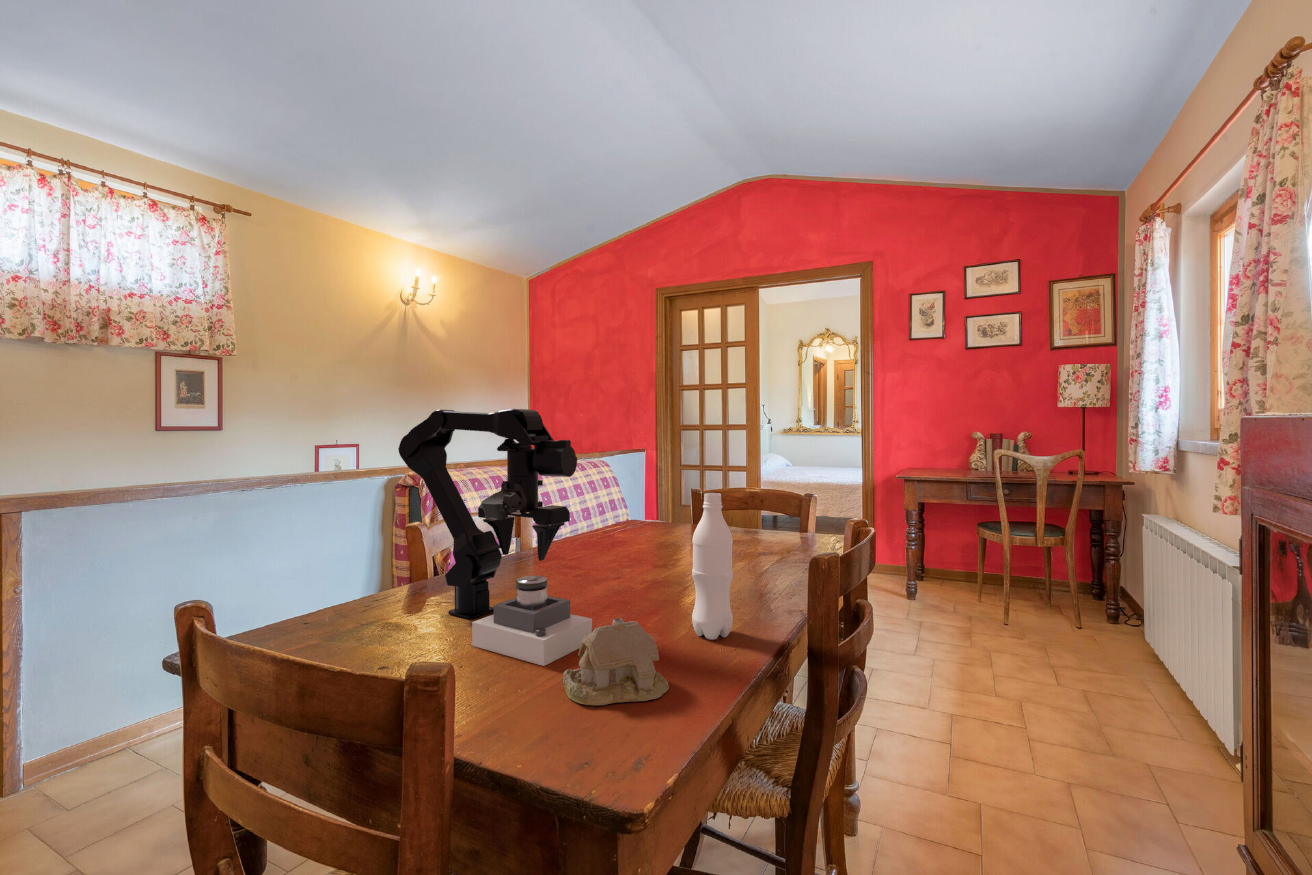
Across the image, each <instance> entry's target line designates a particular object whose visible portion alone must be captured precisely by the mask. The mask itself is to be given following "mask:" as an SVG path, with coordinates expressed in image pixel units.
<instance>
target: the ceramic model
mask: <svg viewBox="0 0 1312 875" xmlns="http://www.w3.org/2000/svg"><path fill="white" fill-rule="evenodd" d="M577 655H578V657H579V658H580V659H579V662H578V666H579V667H580V668H577V669H574V670H573V669H572V668H568V669H566V670H564V672H563V678H562V682H563V685H564V691H565V693H566V696H567V697H568V698H569V699H570V700H571V701H573V702H575V703H577V704H582V705H586V706H605V705H609V704H614V703H625V702H626V703H629V702H645V701H651V700H656V699H659V698H660V697H662V696H663V695H664V694H665V693H666V692H667V691H669V689H670V685H669V683H668V680H667V679H666V678H665V677H664V676H663V675H662V674H661V673H660V672H658V671H656V667H655V664H654V663H655V662H658V661H659V660H660V655H659V651H658V646H657V643H656V640H655V638H653V636H652V635H650V634H649V633H647V631H646V630H645V629H644V628H643V627H642V626H641V625H640V623H639V622H638V621H637V620H632V621H626V622H625V621H624V620H623V618H620V617H616V618H613V621H612V624H609V625H608V624H607V625H602V626H598V627H595V628H594V630H592V633H591V634H589V635H588V636H587V637H584V639H583V641H582V643H581V646H580V648H579V650H578V654H577Z"/></svg>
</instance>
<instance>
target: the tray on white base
mask: <svg viewBox="0 0 1312 875" xmlns="http://www.w3.org/2000/svg"><path fill="white" fill-rule="evenodd" d="M493 607H494V611H493V614H491V615H488V616H485V617H481V618H480V619H477V620H474V621H472V622H471V628H472V629H471V636H472V637H471V638H472V639H471V641H472V642H471V646H472V647H475V648H478V649H483V650H486V651H490V652H493V653H497V654H500V655H504V656H508V657H511V658H514V659H518V660H521V661H524V662H528V663H532V664H535V665H539V666H543V667H545V666H546V665H549V664H551V663H553V662H555V661H557V660H558V659H561V658H563V657H565V656H566V655H569V654H571V653H572V652H575V651H576V650H578V649H580V646H581V643H582V641H583V639H584V637H587V636H588V635H589V634H591V633H592V632H593V618H591V617H585V616H582V615H577V614H572V613H571V599H566V598H562V597H561V598H560V597H556V596H550V595H547V606H546V607H543V608H540V609H538V610H535V611H530V610H526V609H521V608H517V597H514V598H511V599H508V600H506V601H505V600H504V601H502V602H500V603H497V604H494V605H493Z"/></svg>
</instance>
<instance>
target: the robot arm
mask: <svg viewBox="0 0 1312 875" xmlns="http://www.w3.org/2000/svg"><path fill="white" fill-rule="evenodd" d="M457 430H458V431H475V432H485V433H486V432H488V433H491V434H494V435H496V436H498V437H501V438H505V439H504V441H503V442H502V443H501V444H500V445H498V446H497V448H496V451H497V452H506V480H502V483H501V485H500V486H501V488H500V490H499V491H498V492H495V493H492V494H491V495H489V496H488V497H487V498H485V499H483V500H482V501H481V503H480V504H479V506H478V507H477V517H478V518H480V519H482V521H483V523H485V524H487V525H489V526H490V527H491V528H492V529H493V531H492V530H488V531H483V530H481V529H479V527H478V526H477V524H476V522H475V520H474V518H473V517H472V515H471V513H470V511H469V509H468V507H467V505H466V503H465V501H464V500H463V497H462V496H461V493H460V492H459V490H458V488H457V486H456V484H455V482H454V480H453V478H452V476H451V475H450V473H449V471H448V469H447V461H448V459H447V458H448V454H447V450H446V447H447V446H448V445H449V444H450V442H452V438H453V435H454V432H455V431H457ZM533 446H534V448H533ZM398 454H399V457H400V458H401V459H402V460H403V462H404V464H405V465H406V466H407V468H408V469H409V470H411V471H412V472H414V473H415V474H416V475H417V476H420V478H421V479H422V480H423V482H424V484H425V485H426V488H427V489H428V491H429V493H430V496H431V498H432V500H433V502H434V504H435V505H436V508H437V509H438V511H439V513H440V515H441V518H442V519H443V521H444V523H445V525H446V527H447V529H448V531H449V533H450V535H451V537H452V539H453V544H452V545H453V547H452V556H453V559H454V561H455V563H454V564H453V565H452V566H451V568H450V569H448V571H447V572H446V573H445V575H444V578H445V580H446V584H447V586H448V587H450V586H451V587H454V608H453V609H450V610H448V614H449V615H453V616H457V617H461V618H464V619H473V618H477V617H480V616H482V615H483V616H484V615H485V614H488V613H491V612H494V606H490V604H491V603H490V600H491V599H490V588H489V581H487V580H488V579H494V578H495V575H496V572H497V569H498V568H499V566H500V564H501V562H502V561H501V560H502V555H503V556H507V555H509V553H510V549H511V544H512V539H513V538H512V537H513V531H514V524H515V518H516V517H519V518H528V519H532V521H533V522H534V523H535V524H533V525H532V526H531V527H532V528H533V530H534V531H535V533H536V544H537V545H536V546H537V557H538V558H537V559H538V561H540V562H541V561H544V560H545V558H546V556H547V554H548V551H549V549H550V547H551V545H552V542H553V541H554V538H555V537H556V535H557V534H558V531H559V530H560V529H561V527H563V526H565V523H567V522H570V521H571V520H570V518H571V517H570V515H571V513H570V510H569V509H568V507H567V506H566V505H565V506H564V505H555V504H552V505H551V504H550V505H546V506H544V505H543V504H544V501H541V500H539V487H540V486H543V484H544V481H543V479H539V476H541V477H557V478H558V477H561V478H563V477H564V478H571V477H572V476H573V475H575V472H576V470H577V468H578V467H577V466H578V457H577V456H576V452H575V449H574V448H573V447H572V442H571V439H559V440H554V439H553V437H552V435H551V433H550V432H549V431H548V429H547V428H546V426H545V424H544V422H543V418H542V416H541V414H540V413H539V411H537V410H535V409H526V408H525V409H524V408H509V409H504V410H499V411H495V412H473V411H472V412H471V411H456V410H453V409H436V410H434V411H433V412H431V414H429V416H428V417H427V418H425V420H423V421H421V422H420V423H418V424H417V425H416V426H414V427H413V428H412V429H411V430H409V431H408V433H407V434H406V435H404V436H403V437H402V438H401V440H400V443H399V446H398ZM493 532H494V533H495V534H494V533H493ZM495 536H496V537H495ZM496 539H497V540H496Z"/></svg>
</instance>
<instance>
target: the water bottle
mask: <svg viewBox="0 0 1312 875" xmlns="http://www.w3.org/2000/svg"><path fill="white" fill-rule="evenodd" d="M703 496H704V497H703V505H702V508H703V512H702V515H701V518H700V520H699V522H698V523H697V526H696V528H695V530H694V532H693V536H692V542H691V543H692V569H691V571H692V572H691V574H692V575H691V576H692V579H693V582H694V587H695V588H694V590H695V600H694V601H695V602H694V606H693V610H692V613H691V614H692V615H691V618H692V619H691V621H692V622H691V623H692V626H693V629H694V632H695V634H696V636H698V637H702V636H704V637H705V638H706V639H707V640H712V641H714V640H717V639H718V638H719V636H721V637H722V638H727V637H728V636H729V635H730V632H731V630H732V628H733V620H734V617H733V612H732V609H731V605H730V602H731V601H730V594H731V593H730V592H731V584H732V581H733V578H734V569H733V544H734V540H733V539H734V538H733V535H732V533H731V529H730V527H729V526H728V524H727V522H726V520H725V518H724V516H723V511H722V509H723V508H724V506H723V503H722V494H721V493H718V492H705V493H704V494H703Z"/></svg>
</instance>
